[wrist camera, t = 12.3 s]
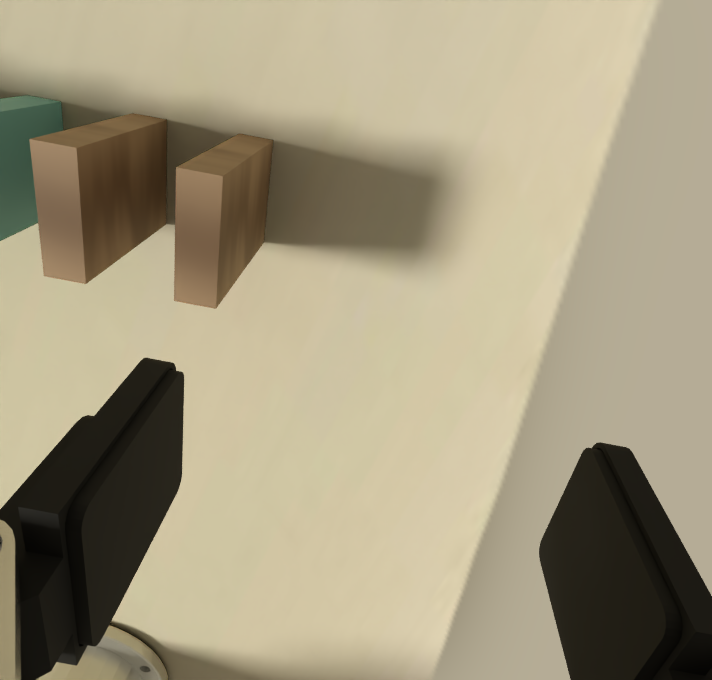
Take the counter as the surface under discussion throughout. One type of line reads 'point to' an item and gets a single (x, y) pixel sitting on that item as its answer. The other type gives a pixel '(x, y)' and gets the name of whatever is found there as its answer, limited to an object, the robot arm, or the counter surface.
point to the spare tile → (22, 157)
